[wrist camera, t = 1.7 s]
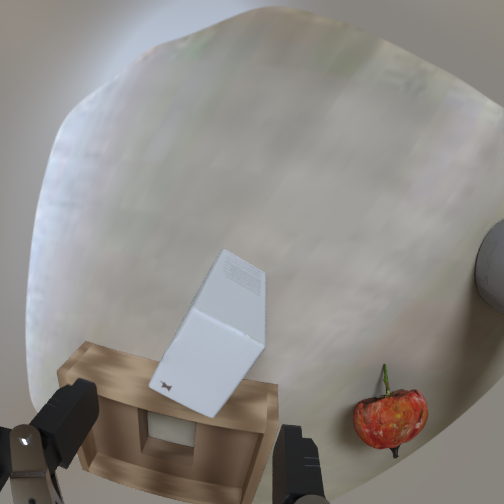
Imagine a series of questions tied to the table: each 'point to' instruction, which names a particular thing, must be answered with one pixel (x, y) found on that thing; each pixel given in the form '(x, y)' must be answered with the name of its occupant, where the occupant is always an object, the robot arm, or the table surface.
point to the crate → (166, 453)
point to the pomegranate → (390, 418)
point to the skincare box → (216, 337)
